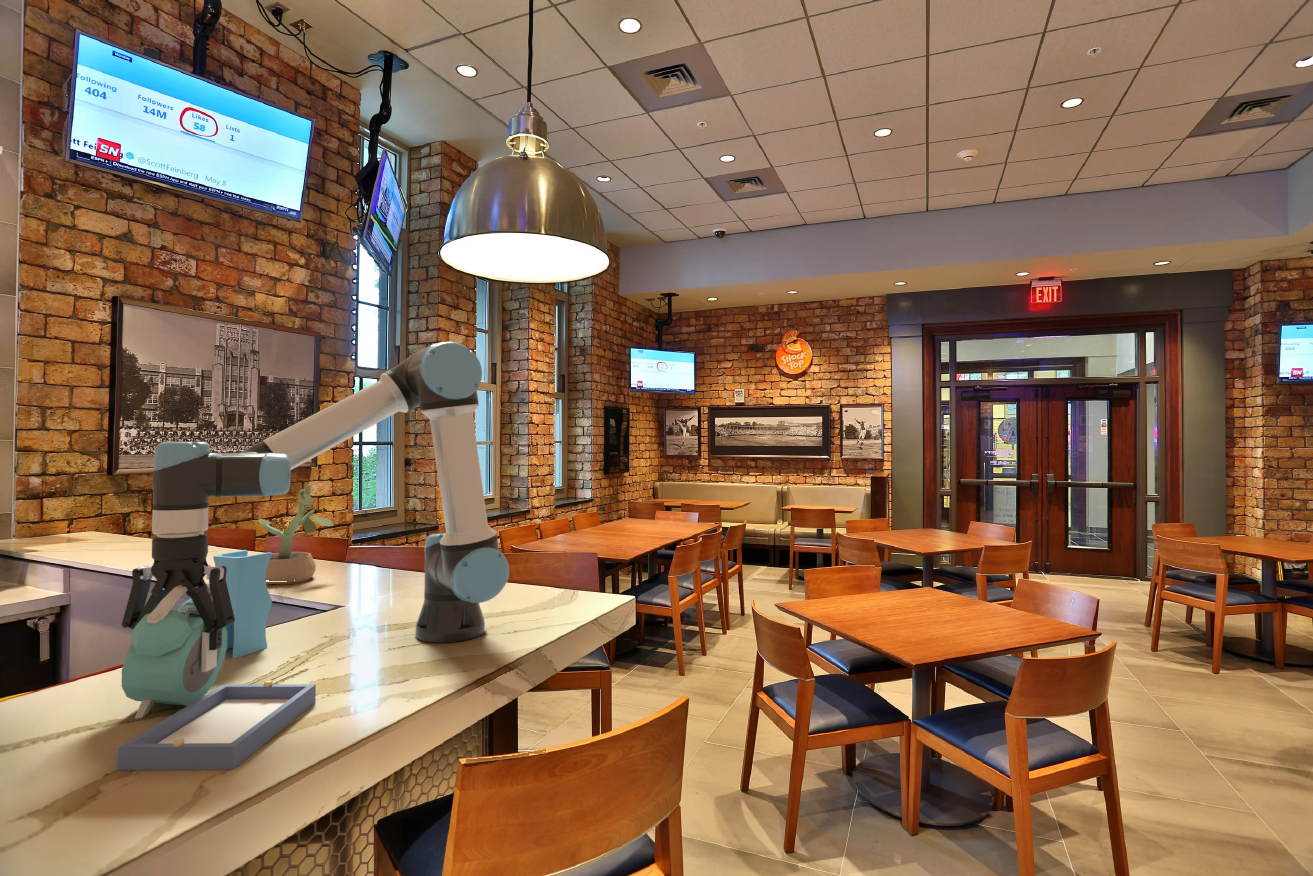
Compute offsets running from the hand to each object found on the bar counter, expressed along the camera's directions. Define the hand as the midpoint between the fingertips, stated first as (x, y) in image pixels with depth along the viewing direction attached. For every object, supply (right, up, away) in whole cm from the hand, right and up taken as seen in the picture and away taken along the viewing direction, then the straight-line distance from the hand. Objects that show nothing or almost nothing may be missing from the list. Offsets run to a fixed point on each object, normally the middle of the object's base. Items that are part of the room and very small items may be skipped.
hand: (178, 669), depth 106 cm
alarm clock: (0, -6, 0) cm, 6 cm away
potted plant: (-34, -6, +93) cm, 99 cm away
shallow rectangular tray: (+15, -6, -10) cm, 19 cm away
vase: (-7, -6, +27) cm, 28 cm away
